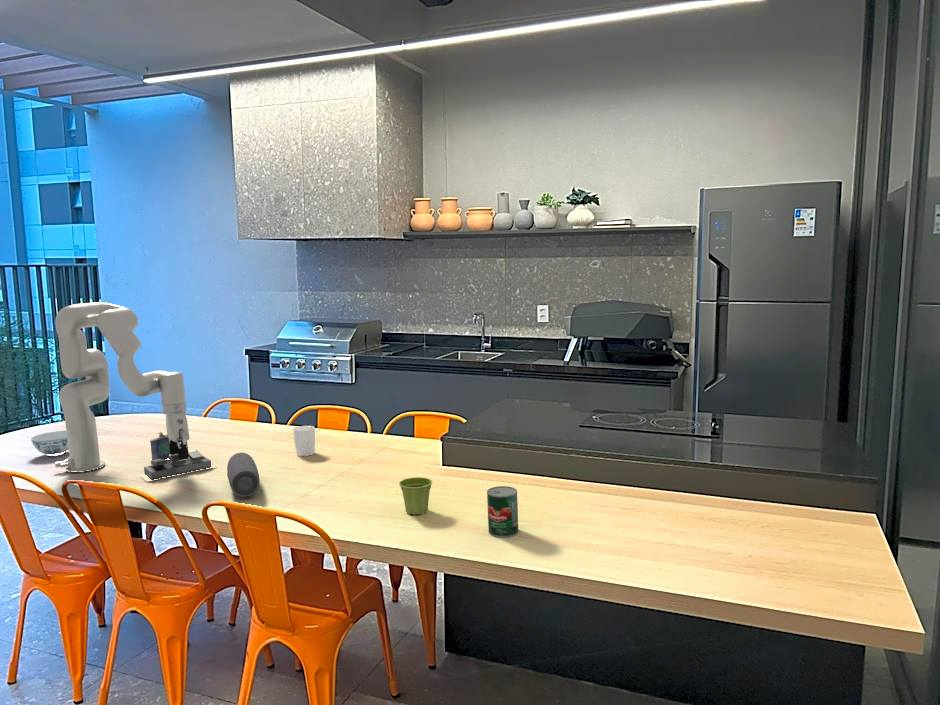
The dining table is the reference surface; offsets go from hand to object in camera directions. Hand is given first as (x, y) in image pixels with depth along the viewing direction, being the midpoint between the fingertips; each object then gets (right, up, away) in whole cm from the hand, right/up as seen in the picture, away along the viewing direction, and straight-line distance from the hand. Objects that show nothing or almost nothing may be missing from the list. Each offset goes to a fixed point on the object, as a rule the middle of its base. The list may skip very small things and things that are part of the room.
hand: (179, 456), depth 247 cm
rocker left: (-6, -2, -2) cm, 7 cm away
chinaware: (-61, -4, +32) cm, 69 cm away
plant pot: (+86, -9, -44) cm, 97 cm away
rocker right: (+3, -1, +6) cm, 7 cm away
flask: (-13, -4, +18) cm, 22 cm away
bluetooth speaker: (+29, -8, -19) cm, 35 cm away
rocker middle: (-2, -2, +2) cm, 3 cm away
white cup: (+39, -2, +20) cm, 44 cm away
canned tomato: (+109, -11, -61) cm, 126 cm away
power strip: (-1, -6, +3) cm, 7 cm away
